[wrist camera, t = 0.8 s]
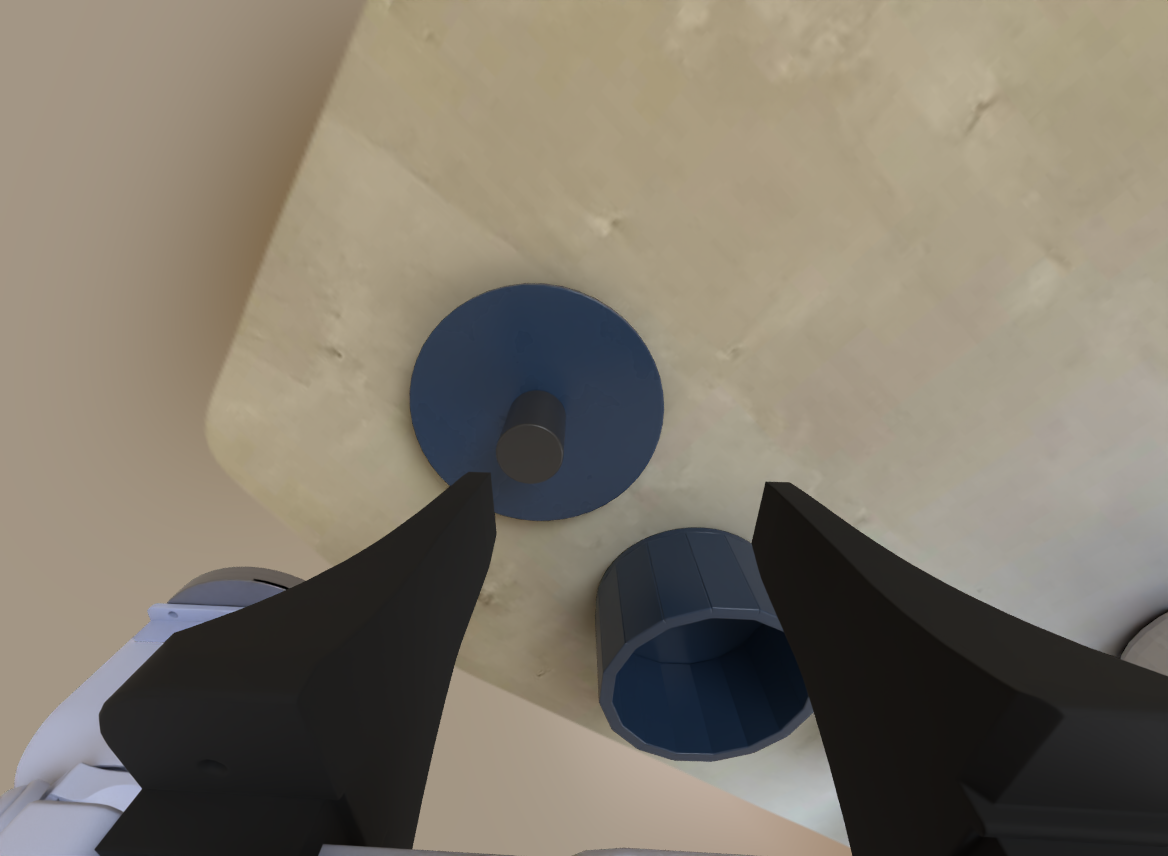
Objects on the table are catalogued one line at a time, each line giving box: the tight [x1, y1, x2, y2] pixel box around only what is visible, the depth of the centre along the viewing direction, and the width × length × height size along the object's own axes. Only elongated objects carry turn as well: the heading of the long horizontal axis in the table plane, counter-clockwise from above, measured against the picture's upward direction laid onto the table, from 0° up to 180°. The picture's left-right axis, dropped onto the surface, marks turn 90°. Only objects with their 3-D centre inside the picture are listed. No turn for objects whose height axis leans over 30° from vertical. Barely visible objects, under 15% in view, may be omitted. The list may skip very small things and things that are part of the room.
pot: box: [595, 528, 814, 762], centre depth 23 cm, size 10×10×5 cm
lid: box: [410, 283, 664, 521], centre depth 18 cm, size 11×11×5 cm
